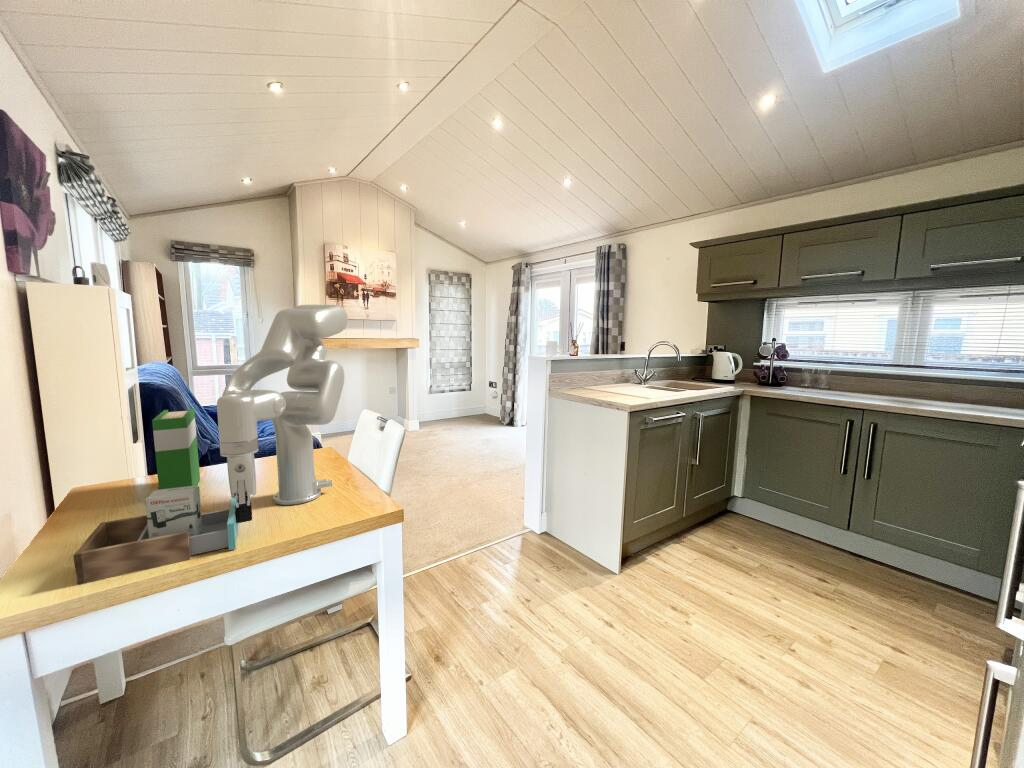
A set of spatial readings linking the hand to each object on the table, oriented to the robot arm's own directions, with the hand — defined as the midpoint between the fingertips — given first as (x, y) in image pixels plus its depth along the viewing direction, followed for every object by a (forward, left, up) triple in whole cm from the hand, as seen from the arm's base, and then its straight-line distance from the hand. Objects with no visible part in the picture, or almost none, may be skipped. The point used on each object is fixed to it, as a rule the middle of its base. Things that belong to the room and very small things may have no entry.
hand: (244, 520), depth 97 cm
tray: (+11, 0, -3) cm, 11 cm away
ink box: (+13, 0, -2) cm, 13 cm away
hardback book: (+17, -42, -4) cm, 46 cm away
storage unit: (+17, 0, -3) cm, 18 cm away
